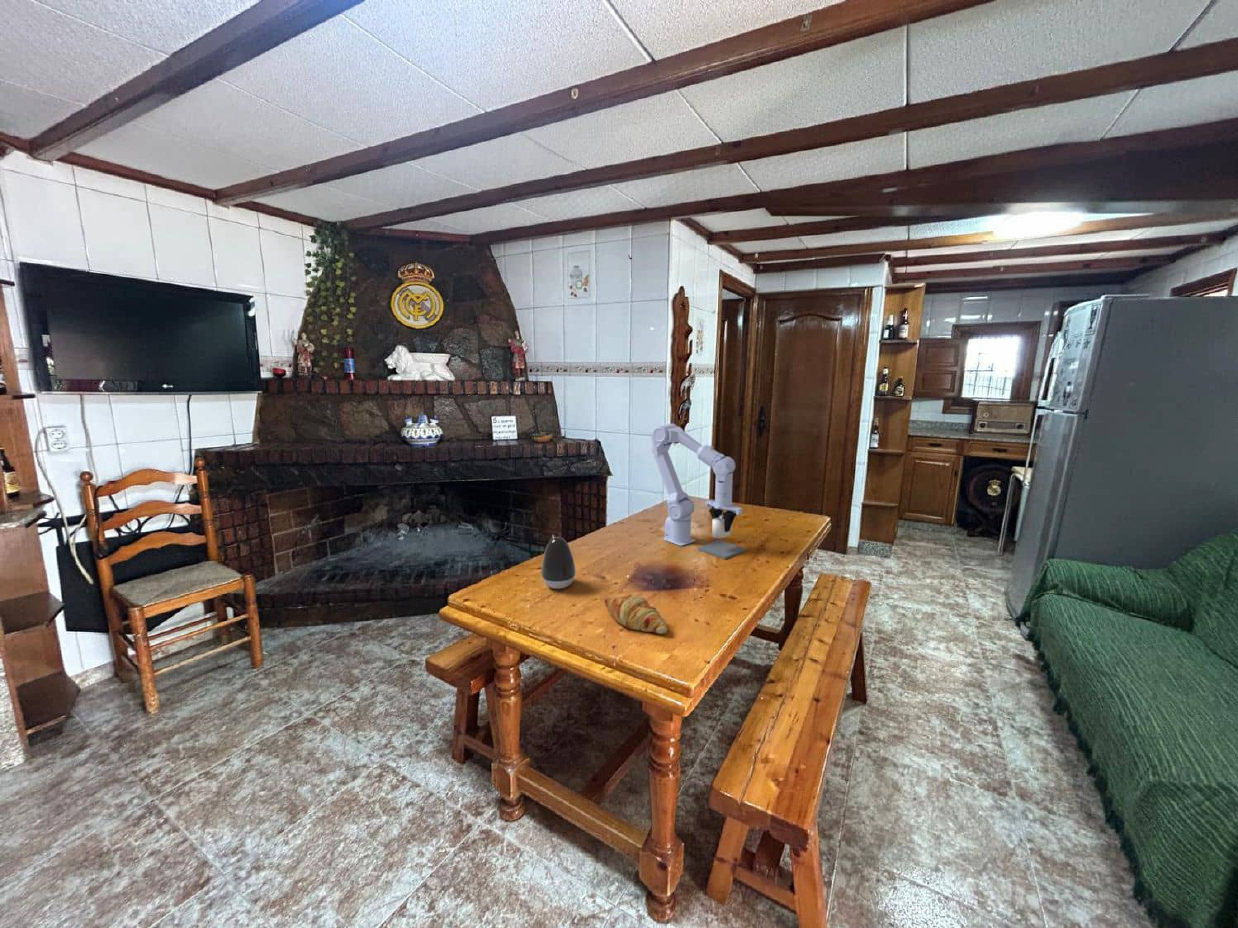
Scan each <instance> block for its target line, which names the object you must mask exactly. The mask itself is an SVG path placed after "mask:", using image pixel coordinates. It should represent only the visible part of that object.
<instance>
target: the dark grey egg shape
mask: <svg viewBox="0 0 1238 928" xmlns="http://www.w3.org/2000/svg"><path fill="white" fill-rule="evenodd" d="M545 547H546V548H545V551H544V555H543V557H542V558H543V559H542V563H541V577H542V578H543V581H544V583H545V585H546V586H547V587H549V588H551V589H556V590H561V589H565V588H567V587H569V586H570V585H572V583H573V581H574V580H575V576H576V573H577V571H576V570H577V569H576V564H575V559H574V557H573V553H572V550H571V547H570V546H569V544H568V542H567V541H566V540H565V538H562V537H561V536H556V535H555V534H552V535H551V539H550V540H549V542H548V544H547V545H546V546H545Z"/></svg>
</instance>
